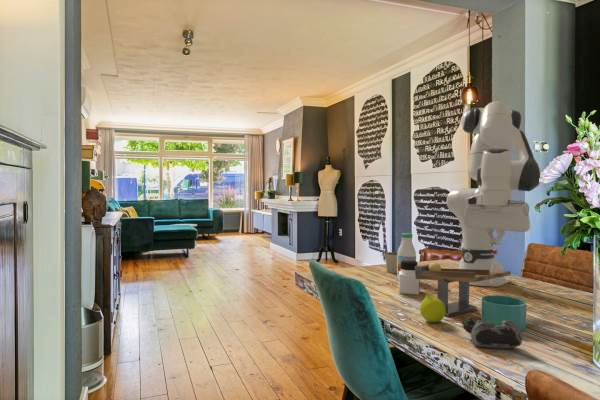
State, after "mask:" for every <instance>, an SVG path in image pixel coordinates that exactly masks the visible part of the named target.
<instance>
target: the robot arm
mask: <svg viewBox="0 0 600 400" xmlns="http://www.w3.org/2000/svg"><path fill="white" fill-rule="evenodd" d="M462 115H463V116H462V118H461V126H462V130H463V131H464V132H465V133H467V134H475V135H474V137H473V140H472V143H471V147H470V152H469V157H468V163H467V164H468V165H467V171H466V172H467V174H468V176H469V177H470V178H471V179H472V180H474V181H476V184H477V185H478V186H477V188H467V187H466V188H458V189H453V190H451V191H450V192H449V193H448V194H447V197H446V206H447V208H448V211H450V212H451V213H453V214H454V215H455V217H456V218H457V219H458V221H459V224H460V227H461V233H462V247H461V253H460V254H461V259H459V264H458V265H459V266H458V269H482V270H489V271H490V272H492V271H505V269H504V266H503V265H502V264H500V263H499V262H498V260H496V259H495V255H498V253H499V251H498V249H497V248H496V249H494V248H492V247H493V245H501V244H502V243H501V242H502V241H501V239H502V238H503V237H504V235H505V232H506V231H507V232H520V233H526V232H529V230H530V228H531V222H530V221H531V220H530V205H529V203H528V202H525V200H512V191H520V192H531V191H533V190H534V189H536V188H537V187H538V186H539V185H540V183H541V181H540V182H539V178H540V174H541V168H540V166H539V163H538V162H537V160H536V159H535V155H534V154H533V151H532V149H531V146H530V143H529V140H528V138H527V137H526V134H525V133H524V131H523V130H521V127H522V122H523V120H522V115H521V113H520V111H518V110H514V109H510V107H509V106H508V104H506V103H505V102H503V101H497V100H496V101H491V102H489V103H487V105H486V106H484V107H469V108H467V109H466V110H465V112H464V114H462ZM510 151H511V152H513V153H515V154H516V157H517V159H518V160H512V157H511V152H510ZM541 175H542V174H541ZM495 230H496V234H497V235H496V237H494V234H493V233H494V231H495ZM510 282H511V278H508V277H506V276H503V277H498V278H493V279H488V280H483V281H478V282H469V286H470V285H471V286H477V287H496V288H497V287H500V286H503V285H505V284H508V283H510Z"/></svg>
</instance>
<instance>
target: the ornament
mask: <svg viewBox="0 0 600 400" xmlns="http://www.w3.org/2000/svg"><path fill="white" fill-rule="evenodd" d="M424 291H425V296H424V298H423V300H422V301H421V303H420V306H419V311H420V312H419V313H420V315H421V317H422V318H423V319H424V320H425V321H426V322H429V323H439V322H440V321H442V320H443V319H444V318H445V317H446V316H445V313H446V309H445V306H444V304H443V302H442V301H441V300H439V299H438V298H437V297H435V296H432V295H431V294H430V293H429V292H428V290H424Z"/></svg>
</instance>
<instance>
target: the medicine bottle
mask: <svg viewBox="0 0 600 400" xmlns="http://www.w3.org/2000/svg"><path fill="white" fill-rule="evenodd" d="M415 266H418V261H417V260H416V261H415V260H402V261H401V271H399V281H398V293H399V294H401V295H420V279H416V275H415Z"/></svg>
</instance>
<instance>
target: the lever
mask: <svg viewBox="0 0 600 400" xmlns="http://www.w3.org/2000/svg"><path fill="white" fill-rule="evenodd" d="M430 264H431V263H428V264H422V265H421V264H420V265H417V266H415V275H416V279H419V280H428V281H429V280H431V281H438V280H443V281H447V282H448V284H449V283H454V282H459V281H461V282H478V281H483V280H488V279H493V278H498V277H503V276H504V277H507V276H512V274H511V271H509V270H504V271H492V272H490V271H489V270H482V269H459V268H443V267H441V271H429V265H430Z"/></svg>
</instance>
